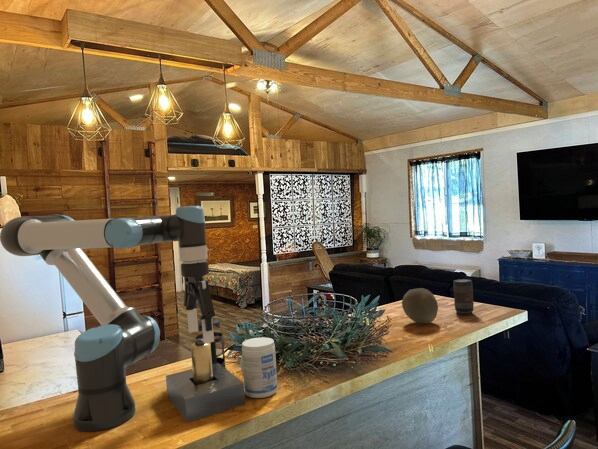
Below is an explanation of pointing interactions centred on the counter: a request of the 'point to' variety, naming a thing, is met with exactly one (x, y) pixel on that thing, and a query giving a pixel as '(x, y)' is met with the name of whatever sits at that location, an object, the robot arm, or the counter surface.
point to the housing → (205, 393)
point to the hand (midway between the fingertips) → (200, 336)
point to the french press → (215, 352)
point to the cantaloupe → (420, 305)
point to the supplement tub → (259, 367)
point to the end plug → (201, 362)
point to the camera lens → (463, 297)
